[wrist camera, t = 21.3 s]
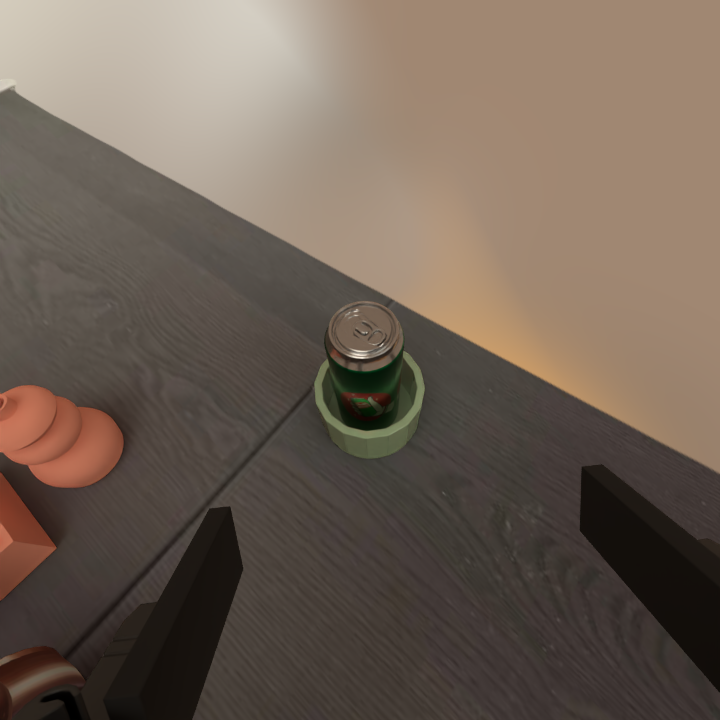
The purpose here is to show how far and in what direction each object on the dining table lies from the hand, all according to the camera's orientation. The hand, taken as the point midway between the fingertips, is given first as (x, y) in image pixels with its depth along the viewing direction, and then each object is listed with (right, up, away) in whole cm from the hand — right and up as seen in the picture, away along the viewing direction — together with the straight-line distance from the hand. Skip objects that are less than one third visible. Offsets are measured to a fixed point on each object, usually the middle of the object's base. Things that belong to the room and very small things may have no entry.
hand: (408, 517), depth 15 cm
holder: (-1, +1, +20) cm, 20 cm away
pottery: (-29, -6, +17) cm, 34 cm away
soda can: (-1, +2, +20) cm, 20 cm away
